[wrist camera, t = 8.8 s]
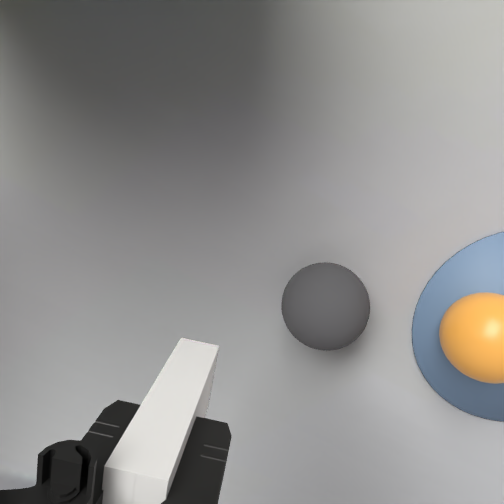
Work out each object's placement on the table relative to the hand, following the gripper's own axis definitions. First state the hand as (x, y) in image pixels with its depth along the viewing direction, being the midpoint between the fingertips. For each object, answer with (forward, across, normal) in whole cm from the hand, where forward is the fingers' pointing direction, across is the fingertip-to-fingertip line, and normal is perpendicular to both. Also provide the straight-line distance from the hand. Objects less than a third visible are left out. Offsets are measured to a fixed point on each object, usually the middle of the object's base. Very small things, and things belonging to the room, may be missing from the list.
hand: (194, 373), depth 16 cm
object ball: (+11, +16, 0) cm, 19 cm away
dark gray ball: (+11, +6, 0) cm, 12 cm away
